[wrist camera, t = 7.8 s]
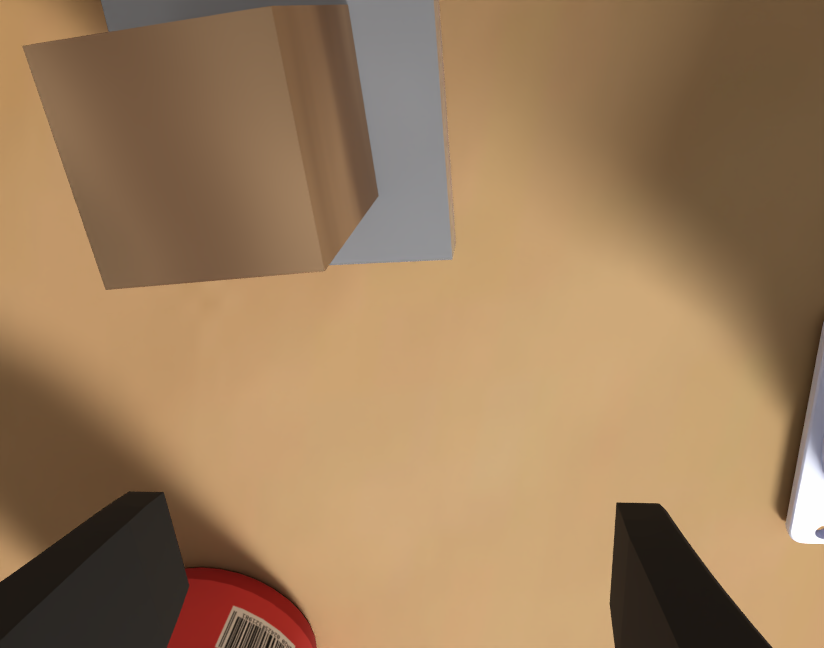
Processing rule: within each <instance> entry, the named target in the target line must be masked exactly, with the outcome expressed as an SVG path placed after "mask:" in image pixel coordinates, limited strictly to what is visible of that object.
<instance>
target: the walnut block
mask: <svg viewBox="0 0 824 648" xmlns="http://www.w3.org/2000/svg"><path fill="white" fill-rule="evenodd" d="M23 49H24V52H25V55H26V58H27V61H28V64H29V67H30V70H31V73H32V76H33V78H34V81H35V84H36V87H37V90H38V93H39V96H40V99H41V102H42V105H43V108H44V111H45V114H46V116H47V119H48V122H49V125H50V128H51V131H52V134H53V137H54V140H55V143H56V146H57V149H58V152H59V154H60V157H61V160H62V163H63V166H64V169H65V172H66V175H67V178H68V181H69V184H70V187H71V190H72V193H73V195H74V198H75V201H76V204H77V207H78V210H79V213H80V216H81V219H82V222H83V225H84V228H85V231H86V233H87V236H88V239H89V242H90V245H91V248H92V251H93V254H94V257H95V260H96V263H97V266H98V269H99V271H100V274H101V277H102V280H103V283H104V286H105V289H106V290H110V289H122V288H133V287H145V286H157V285H169V284H180V283H192V282H204V281H216V280H227V279H239V278H251V277H263V276H274V275H286V274H298V273H310V272H321V271H325V270H326V269H327V267H328V266H329V264H330V263H331V262H332V260H333V259H334V257H335V256H336V255H337V253H338V252H339V251H340V249H341V248H342V246H343V245H344V244H345V242H346V241H347V239H348V238H349V237H350V235H351V234H352V232H353V231H354V230H355V228H356V227H357V225H358V224H359V223H360V221H361V220H362V218H363V217H364V216H365V214H366V213H367V211H368V210H369V209H370V207H371V206H372V204H373V203H374V202H375V200H376V199H377V198H378V196H379V195H378V189H377V183H376V176H375V170H374V164H373V158H372V151H371V145H370V139H369V133H368V126H367V120H366V114H365V108H364V101H363V95H362V89H361V83H360V76H359V70H358V64H357V58H356V51H355V45H354V39H353V33H352V26H351V20H350V14H349V8H348V5H288V6H267V7H261V8H254V9H248V10H242V11H236V12H230V13H223V14H217V15H211V16H205V17H199V18H192V19H186V20H180V21H174V22H167V23H161V24H155V25H149V26H143V27H136V28H130V29H124V30H118V31H112V32H105V33H99V34H93V35H87V36H81V37H74V38H68V39H62V40H56V41H49V42H43V43H37V44H31V45H25V46H23Z"/></svg>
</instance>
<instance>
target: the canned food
mask: <svg viewBox="0 0 824 648" xmlns="http://www.w3.org/2000/svg"><path fill="white" fill-rule="evenodd" d="M185 572H186V575H187V579H188V582H189V589H188V592H187V594H186V597H185V600H184V603H183V606H182V609H181V612H180V614H179V617H178V620H177V623H176V625H175V628H174V630H173V633H172V636H171V638H170V641H169V643H168V646H167V648H317V647H316V640H315V636H314V634H313V631H312V629H311V627H310V624H309V623H308V622H307V620H306V619H305V617H304V616H303V614H302V613H301V612H300V611H299V610H298V609H297V608H296V607H295V606H294V605H293V604H292V603H291V602H290V601H289V600H288V599H287V598H286V597H284V596H283V595H281V594H280V593H279V592H277V591H276V590H274V589H273V588H271V587H269V586H267V585H266V584H264V583H262V582H260V581H258V580H256V579H253V578H250V577H248V576H245V575H242V574H240V573H236V572H231V571H227V570H222V569H215V568H202V567H200V568H187V569H185Z"/></svg>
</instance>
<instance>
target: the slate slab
mask: <svg viewBox="0 0 824 648" xmlns="http://www.w3.org/2000/svg"><path fill="white" fill-rule="evenodd" d="M101 3H102V7H103V11H104V15H105V19H106V23H107V27H108V31H109V32H112V31H118V30H124V29H130V28H136V27H143V26H149V25H155V24H161V23H167V22H174V21H180V20H186V19H192V18H199V17H205V16H211V15H217V14H223V13H230V12H236V11H242V10H248V9H254V8H261V7H267V6H288V5H348V8H349V14H350V20H351V26H352V33H353V39H354V45H355V51H356V58H357V64H358V70H359V76H360V83H361V89H362V95H363V101H364V108H365V114H366V120H367V126H368V133H369V139H370V145H371V151H372V158H373V164H374V170H375V176H376V183H377V189H378V195H379V196H378V198H377V199H376V200H375V202H374V203H373V204H372V206H371V207H370V209H369V210H368V211H367V213H366V214H365V216H364V217H363V218H362V220H361V221H360V223H359V224H358V225H357V227H356V228H355V230H354V231H353V232H352V234H351V235H350V237H349V238H348V239H347V241H346V242H345V244H344V245H343V246H342V248H341V249H340V251H339V252H338V253H337V255H336V256H335V257H334V259H333V260H332V262H331V263H330V264H329V265H343V264H365V263H386V262H408V261H430V260H451V259H453V254H454V250H455V245H456V236H455V222H454V208H453V193H452V179H451V164H450V150H449V136H448V121H447V107H446V92H445V78H444V64H443V49H442V35H441V20H440V6H439V0H101Z"/></svg>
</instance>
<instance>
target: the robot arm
mask: <svg viewBox="0 0 824 648" xmlns="http://www.w3.org/2000/svg"><path fill="white" fill-rule="evenodd" d="M820 526H824V322H823V327H822V332H821V337H820V343H819V348H818V353H817V359H816V364H815V369H814V375H813V380H812V385H811V391H810V396H809V401H808V407H807V412H806V417H805V423H804V428H803V433H802V439H801V444H800V449H799V455H798V460H797V465H796V471H795V476H794V481H793V487H792V492H791V497H790V503H789V508H788V513H787V519H786V529H787V531H788V533H789V535H790V537H791V538H792V539H793V540H795V541H796V542H800V543H816V544H824V529H821V530H816V529H817V528H819V527H820ZM188 589H189V582H188V579H187V575H186V572H185V568H184V564H183V561H182V557H181V553H180V550H179V546H178V543H177V539H176V535H175V532H174V528H173V524H172V521H171V517H170V514H169V510H168V506H167V503H166V499H165V495H164V492H128V493H126V494H125V495H123V496H121V497H120V498H118V499H117V500H115V501H114V502H112V503H111V504H109V505H108V506H106V507H105V508H103V509H102V510H101V511H99V512H98V513H96V514H95V515H94V516H92V517H91V518H89V519H88V520H87V521H85V522H84V523H82V524H81V525H80V526H78V527H77V528H75V529H74V530H73V531H71V532H70V533H69V534H67V535H66V536H64V537H63V538H62V539H60V540H59V541H57V542H56V543H55V544H53V545H52V546H51V547H49V548H48V549H46V550H45V551H44V552H42V553H41V554H39V555H38V556H37V557H35V558H34V559H32V560H31V561H30V562H28V563H27V564H25V565H24V566H23V567H21V568H20V569H18V570H17V571H16V572H14V573H13V574H11V575H10V576H9V577H7V578H6V579H4V580H3V581H1V582H0V648H167V646H168V643H169V641H170V638H171V636H172V633H173V630H174V628H175V625H176V623H177V620H178V617H179V614H180V612H181V609H182V606H183V603H184V600H185V597H186V594H187V592H188ZM610 610H611V618H612V627H613V635H614V643H615V648H772V647H771V645H770V644H769V643H768V642H767V641H766V640H765V639H764V637H763V636H762V635H761V634H760V633H759V632H758V630H757V629H756V628H755V627H754V626H753V624H752V623H751V622H750V621H749V620H748V618H747V617H746V616H745V615H744V614H743V612H742V611H741V610H740V609H739V607H738V606H737V605H736V604H735V603H734V601H733V600H732V599H731V598H730V596H729V595H728V594H727V593H726V592H725V590H724V589H723V588H722V586H721V585H720V584H719V583H718V581H717V580H716V579H715V578H714V576H713V575H712V574H711V572H710V571H709V570H708V568H707V567H706V566H705V564H704V563H703V562H702V560H701V559H700V558H699V556H698V555H697V554H696V552H695V551H694V550H693V548H692V547H691V545H690V544H689V543H688V541H687V540H686V538H685V537H684V536H683V534H682V533H681V531H680V530H679V529H678V527H677V526H676V524H675V523H674V521H673V520H672V518H671V517H670V515H669V514H668V512H667V511H666V510H665V509H664V508H663V507H662V506H661V505H660V504H656V503H617V504H616V519H615V534H614V548H613V563H612V578H611V593H610Z"/></svg>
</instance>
